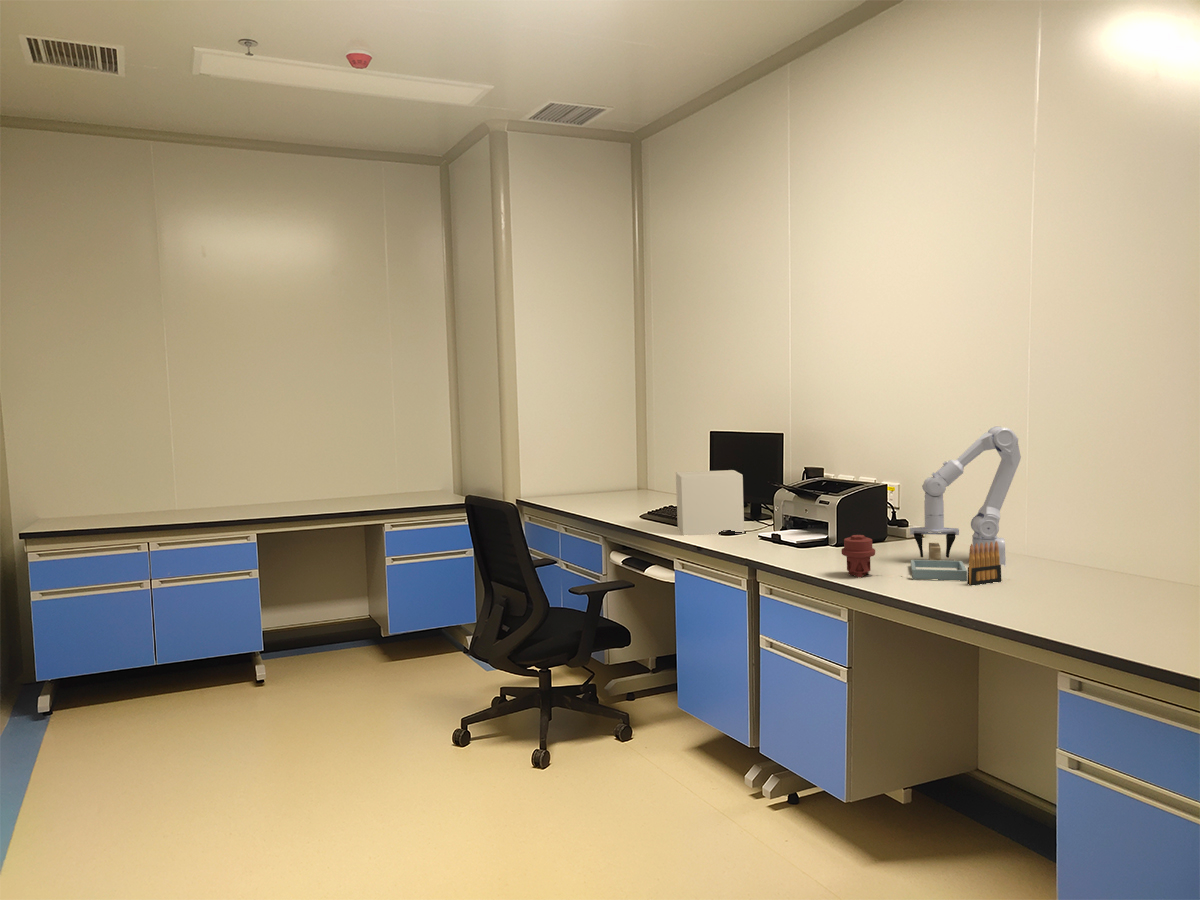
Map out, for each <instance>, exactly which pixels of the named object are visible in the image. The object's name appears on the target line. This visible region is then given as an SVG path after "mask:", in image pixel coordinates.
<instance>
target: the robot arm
mask: <svg viewBox="0 0 1200 900" xmlns="http://www.w3.org/2000/svg"><path fill="white" fill-rule="evenodd" d="M991 450H996V452H997V453H998V455H999V458H1000V462H999V464H998V468H997V470H996V472H995V474H994V477H993V479H992V481H991V484H990V487H989V490H988V492H987V494H986V497H985V500H984V502H983V504H982V506H981V507H980V508H979V510H978V512H977V514H976V515H974V516H973V517H972V519H971V521H970V527H971V530H972V531H973V534H972V543H971V544H972V545H973V548H974V550H975V545H976V543H977V544H978V547H979V549H980V544H981V543H982V544H983V547H985V543H986V542H987V543H988V547H990V543H991V542H992V543H993V547H994V546H995V542H996V541H997V542H998V547H999V555H1000V565H1001V566H1002V565H1003V566H1004V567H1005V568H1006V567H1007V566H1006V562H1007V561H1006V541H1005V538H1004V537H998V535H997V534H998V533H999V530H1000V525H999V524H1000V520H1001V509H1002V507H1003V504H1004V502H1005V499H1006V497H1007V495H1008V493H1009V490H1010V487H1011V484H1012V482H1013V480H1014V477H1015V475H1016V472H1017V469H1018V467H1019V464H1020V462H1021V458H1022V456H1021V451H1020V446H1019V438H1018V436H1017V435H1016V433H1015V432H1014V431H1013V430H1012V429H1011V428H1009V427H1002V426H993V427H991V428H990V429H988V431H987V432H984V433H983V434H981V436H979V438H977V439H976V440H975V441H974V442H973V443H972V444H971V445H970V446H969V447H968V448H967V449H966V450H965V451H964V452H962V453H961V454H960V455H959V457H957V458H956V459H949V460H948V461H944V462H942V466H941V467H939V469H938V470H937V471H936V472H932V473H931V476H930V477H927V478H926V479H925V480H924V481H923V483H922V485H921V488H922V490H923V492H924V502H923V503H924V506H923V508H924V527H923V526H921V527H910V528H909V534H910V535H913V537H914V539H915V542H916V543H917V546H918V550H919V555H920V556H919V557H920V558H923V557H924V551H923V535H936V536H937V535H938V536H939V535H941V536H942V535H945V540H946V541H945V542H946V543H945V544H946V545H945V546H946V547H945V548H946V549H945V557H946V559H949V557H950V553H951V550H952V547H953V544H954V542H955V540H956V539H957V538H956V536H960V529H959V527H958V528H957V527H945V518H944V517H945V514H944V513H945V510H944V509H945V508H944V506H945V504H944V493H945V492H946V491H947V490H946V489H947V488H948V487H949V486H951V485H952V484H953V482H955V481H956V480H957V479H958V478H959V477H961V476H962V474H964V468H965V467H966V466H967V465H968V464H969V463H971V462H972V461H973V460H974V459H976V458H977V457H978V456H980V455H981V454H982V453H984V452H985V451H991Z"/></svg>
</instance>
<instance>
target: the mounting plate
mask: <svg viewBox="0 0 1200 900" xmlns="http://www.w3.org/2000/svg"><path fill="white" fill-rule="evenodd" d="M913 560H929V558H914V559H913ZM941 561H955V560H954V559H949V558H946V559H941Z"/></svg>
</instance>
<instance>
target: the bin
mask: <svg viewBox="0 0 1200 900" xmlns="http://www.w3.org/2000/svg"><path fill="white" fill-rule="evenodd" d="M918 568H919V569H918ZM920 568H921V569H920ZM923 568H932V569H923ZM933 568H937V569H933ZM938 568H939V569H938ZM941 568H942V569H941ZM910 570H911V579H912V578H913V579H938V580H937V581H944V580H960V581H959V582H967V578H968V569H967V568H966V567H965V565H964V562H963V560H954V561H941V560H914V559H911V560H910ZM913 579H912V580H913Z"/></svg>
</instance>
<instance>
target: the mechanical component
mask: <svg viewBox="0 0 1200 900" xmlns="http://www.w3.org/2000/svg"><path fill="white" fill-rule="evenodd" d="M843 545H844V546H843V547H842V548H841V550H840V551H841V555H842V556H844V557H846V571H847V572H848V575H849V574H851V575H850V576H853V575H855V576H854V577H856V576H857V577H856V578H858V577H861V578H863V577H864V576H867V575H866V574H868V575H869V572H870V571H871V568H872V567H871V558H872V557H874V556H876V549H875V548H873V539H872V538H870V537H866V536H865V535H864V534H853V535H850V536H849V537H846V538H844V539H843ZM863 575H864V576H863Z"/></svg>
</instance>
